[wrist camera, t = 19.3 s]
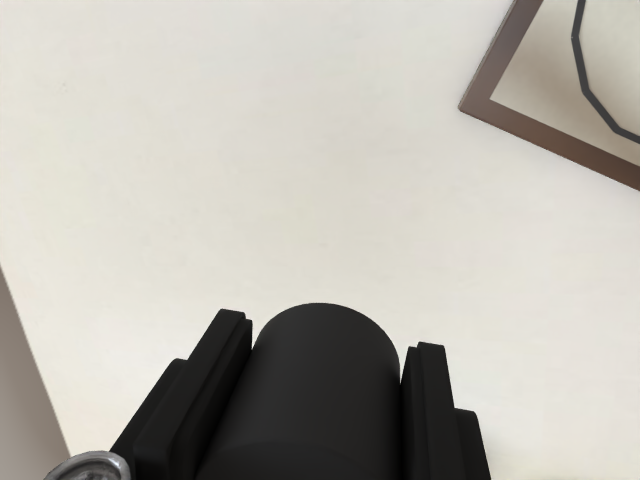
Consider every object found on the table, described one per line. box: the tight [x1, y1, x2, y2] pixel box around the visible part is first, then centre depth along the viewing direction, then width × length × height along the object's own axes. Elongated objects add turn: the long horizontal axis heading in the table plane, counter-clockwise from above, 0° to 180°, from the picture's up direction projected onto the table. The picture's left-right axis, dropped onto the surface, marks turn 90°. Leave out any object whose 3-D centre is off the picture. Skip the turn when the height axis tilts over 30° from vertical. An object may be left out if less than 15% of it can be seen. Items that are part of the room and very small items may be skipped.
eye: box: [194, 303, 402, 480], centre depth 9 cm, size 4×4×4 cm
